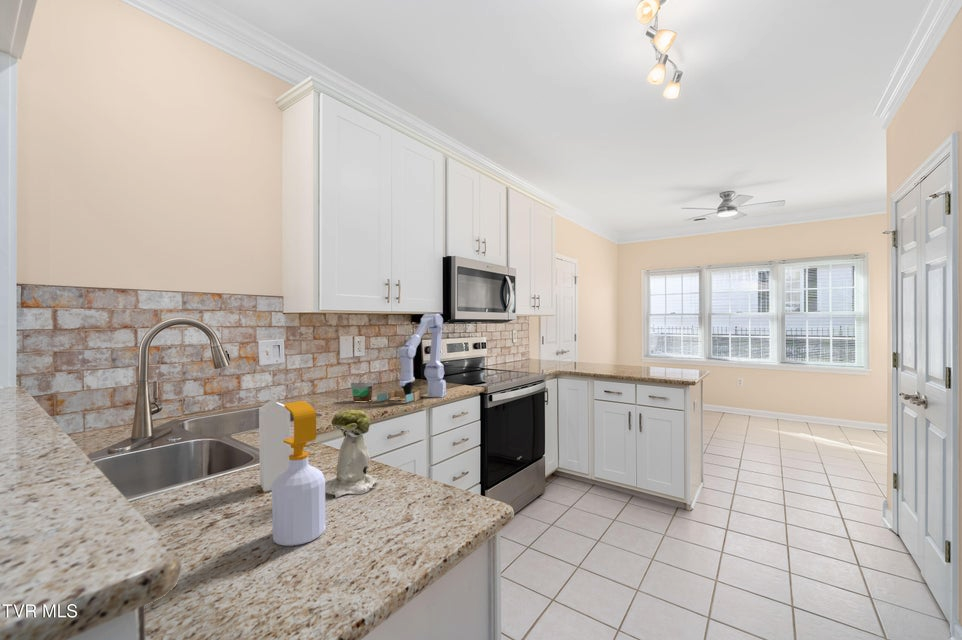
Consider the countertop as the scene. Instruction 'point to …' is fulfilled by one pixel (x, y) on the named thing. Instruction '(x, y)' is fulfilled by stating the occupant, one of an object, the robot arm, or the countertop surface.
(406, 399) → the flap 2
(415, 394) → the carton
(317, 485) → the soap bottle
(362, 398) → the food container
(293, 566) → the countertop surface
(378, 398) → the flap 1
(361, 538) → the countertop surface
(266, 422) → the white gable-top box
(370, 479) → the tree figurine
